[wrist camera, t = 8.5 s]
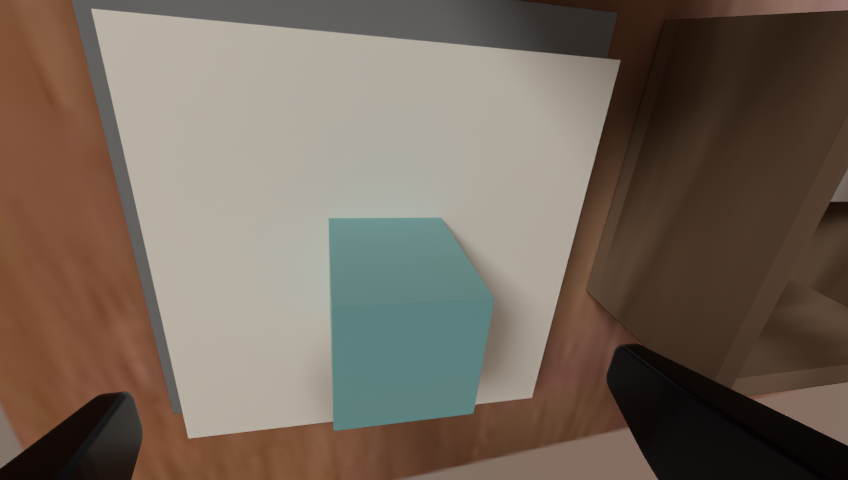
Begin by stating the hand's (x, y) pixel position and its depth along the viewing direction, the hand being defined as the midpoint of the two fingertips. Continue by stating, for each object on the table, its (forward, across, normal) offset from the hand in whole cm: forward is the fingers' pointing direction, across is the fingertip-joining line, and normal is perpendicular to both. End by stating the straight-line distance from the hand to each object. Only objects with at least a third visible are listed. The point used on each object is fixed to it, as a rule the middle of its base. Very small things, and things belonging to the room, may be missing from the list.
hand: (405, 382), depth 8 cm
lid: (+7, 0, 0) cm, 7 cm away
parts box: (+7, -14, -2) cm, 16 cm away
